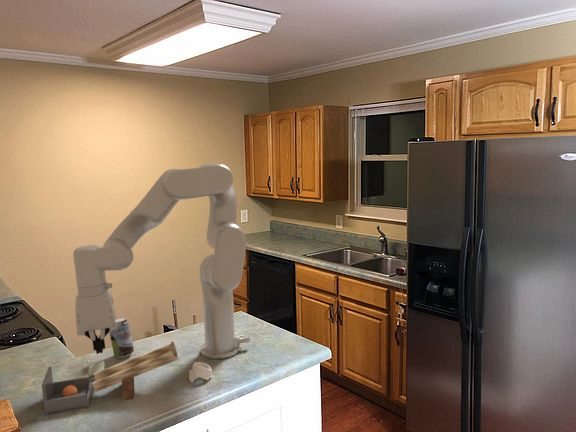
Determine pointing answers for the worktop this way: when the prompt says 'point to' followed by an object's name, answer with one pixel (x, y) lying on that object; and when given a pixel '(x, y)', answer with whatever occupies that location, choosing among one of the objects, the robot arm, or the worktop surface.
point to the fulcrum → (128, 388)
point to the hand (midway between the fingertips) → (99, 351)
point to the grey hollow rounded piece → (200, 371)
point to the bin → (61, 404)
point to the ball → (69, 391)
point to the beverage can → (121, 339)
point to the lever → (131, 367)
